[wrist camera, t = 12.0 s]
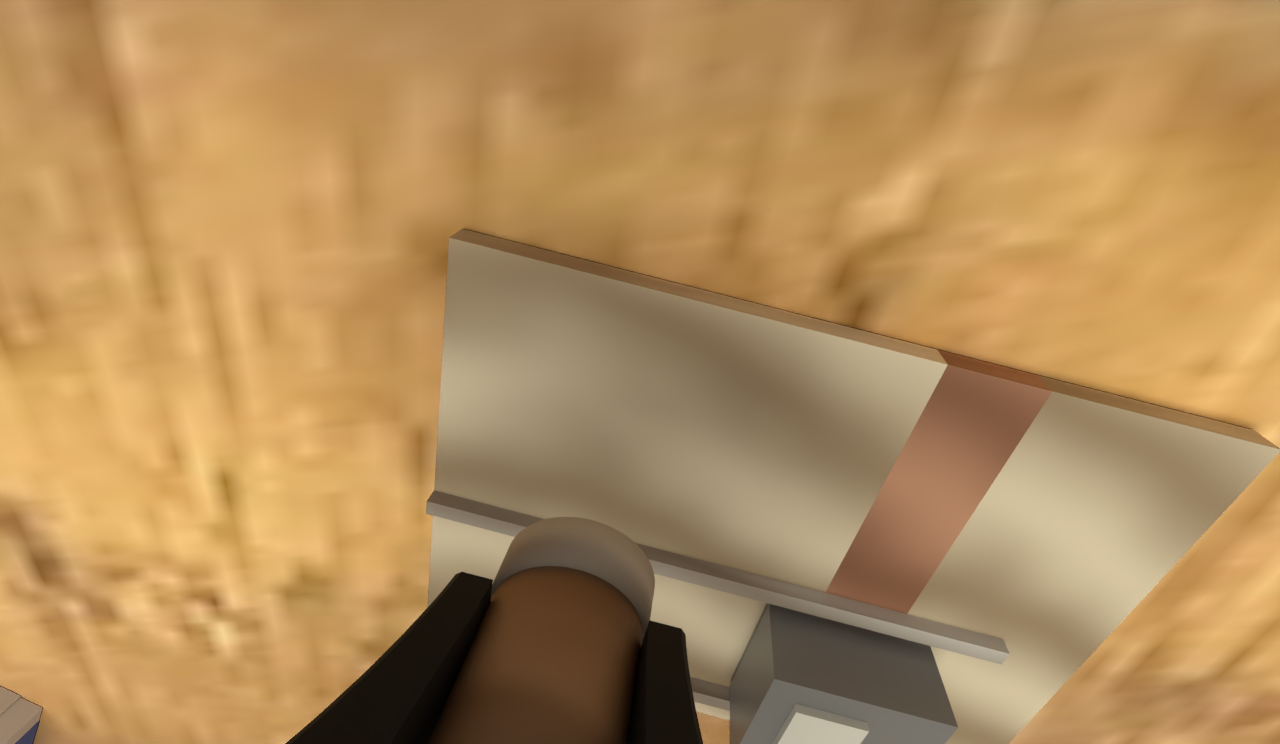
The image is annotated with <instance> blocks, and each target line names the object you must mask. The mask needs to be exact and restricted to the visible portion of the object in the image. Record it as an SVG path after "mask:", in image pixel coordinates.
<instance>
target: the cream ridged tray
mask: <svg viewBox="0 0 1280 744" xmlns="http://www.w3.org/2000/svg"><path fill="white" fill-rule="evenodd" d="M1279 452H1280V448H1278V447H1277V446H1276V445H1274V444H1273V443H1271V442H1270V441H1268V440H1267V439H1266V438H1264V437H1263V436H1261V435H1260V434H1259V433H1257V432H1256V431H1254V430H1251V429H1247V428H1244V427H1240V426H1236V425H1232V424H1228V423H1224V422H1220V421H1216V420H1212V419H1208V418H1204V417H1200V416H1196V415H1192V414H1189V413H1185V412H1181V411H1177V410H1173V409H1169V408H1165V407H1161V406H1157V405H1153V404H1149V403H1145V402H1141V401H1137V400H1134V399H1130V398H1126V397H1122V396H1118V395H1114V394H1110V393H1106V392H1102V391H1098V390H1094V389H1090V388H1086V387H1082V386H1079V385H1075V384H1071V383H1067V382H1063V381H1059V380H1055V379H1051V378H1047V377H1043V376H1039V375H1035V374H1031V373H1027V372H1024V371H1020V370H1016V369H1012V368H1008V367H1004V366H1000V365H996V364H992V363H988V362H984V361H980V360H976V359H972V358H969V357H965V356H961V355H957V354H953V353H949V352H945V351H941V350H937V349H933V348H929V347H925V346H921V345H918V344H914V343H910V342H906V341H902V340H898V339H894V338H890V337H886V336H882V335H878V334H874V333H870V332H866V331H863V330H859V329H855V328H851V327H847V326H843V325H839V324H835V323H831V322H827V321H823V320H819V319H815V318H811V317H808V316H804V315H800V314H796V313H792V312H788V311H784V310H780V309H776V308H772V307H768V306H764V305H760V304H756V303H753V302H749V301H745V300H741V299H737V298H733V297H729V296H725V295H721V294H717V293H713V292H709V291H705V290H701V289H698V288H694V287H690V286H686V285H682V284H678V283H674V282H670V281H666V280H662V279H658V278H654V277H650V276H646V275H643V274H639V273H635V272H631V271H627V270H623V269H619V268H615V267H611V266H607V265H603V264H599V263H595V262H591V261H588V260H584V259H580V258H576V257H572V256H568V255H564V254H560V253H556V252H552V251H548V250H544V249H540V248H537V247H533V246H529V245H525V244H521V243H517V242H513V241H509V240H505V239H501V238H497V237H493V236H489V235H485V234H482V233H478V232H474V231H470V230H466V229H462V230H461V231H459V232H457V233H456V234H454V235H453V236H451V237H449V251H448V268H447V285H446V302H445V319H444V336H443V353H442V369H441V386H440V403H439V420H438V437H437V454H436V471H435V488H434V492H433V493H432V495H431V496H430V497H429V499H428V500H427V509H426V514H429V515H433V522H432V539H431V556H430V573H429V590H428V607H429V606H430V604H431V603H432V602H433V601H434V600H435V599H436V598H437V596H438V595H439V594H440V593H441V592H442V590H443V589H444V588H445V587H446V586H447V584H448V583H449V582H450V581H451V579H452V578H453V577H454V576H455V574H457V573H460V572H465V573H469V574H473V575H477V576H481V577H485V578H488V579H492V580H493V582H494V579H495V577H496V575H497V573H498V571H499V568H500V566H501V564H502V562H503V559H504V557H505V555H506V553H507V551H508V548H509V546H510V544H511V542H512V541H513V539H514V538H515V537H516V536H517V534H518V533H519V532H520V531H522V530H523V529H525V528H526V527H528V526H529V525H531V524H533V523H536V522H538V521H541V520H545V519H549V518H556V517H578V518H585V519H589V520H594V521H597V522H600V523H603V524H605V525H608V526H610V527H612V528H614V529H616V530H618V531H620V532H621V533H623V534H624V535H626V536H627V537H629V538H630V539H631V540H632V541H633V542H635V543H636V544H637V545H638V546H639V547H640V549H641V550H642V551H643V552H644V554H645V555H646V556H647V558H648V560H649V562H650V564H651V566H652V569H653V572H654V578H655V589H654V596H653V603H652V610H651V617H650V620H651V621H654V622H658V623H662V624H666V625H670V626H674V627H678V628H681V629H682V630H683V631H684V633H685V635H686V649H687V658H688V666H689V673H690V680H691V686H692V692H693V697H694V703H695V708H696V712H700V713H704V714H707V715H711V716H715V717H719V718H722V719H726V720H730V684H731V681H732V679H733V677H734V675H735V673H736V671H737V669H738V667H739V665H740V663H741V660H742V658H743V656H744V654H745V652H746V650H747V648H748V646H749V644H750V642H751V640H752V637H753V635H754V633H755V631H756V629H757V627H758V625H759V623H760V621H761V619H762V616H763V614H764V612H765V610H766V608H767V606H768V604H772V605H776V606H780V607H784V608H787V609H791V610H795V611H799V612H803V613H806V614H810V615H814V616H818V617H822V618H825V619H829V620H833V621H837V622H841V623H845V624H848V625H852V626H856V627H860V628H864V629H867V630H871V631H875V632H879V633H883V634H886V635H890V636H894V637H898V638H902V639H906V640H909V641H913V642H917V643H921V644H925V645H928V646H930V647H931V650H932V652H933V655H934V658H935V661H936V664H937V667H938V670H939V673H940V676H941V679H942V681H943V684H944V687H945V690H946V693H947V696H948V699H949V702H950V705H951V708H952V711H953V713H954V716H955V719H956V722H957V725H958V729H957V730H956V731H955V732H954V733H953V735H952V736H951V737H950V738H949V739H948V741H947V742H946V743H945V744H1009V743H1010V742H1011V740H1012V739H1013V738H1014V737H1015V736H1016V735H1017V734H1018V733H1019V732H1020V731H1021V730H1022V729H1023V728H1024V727H1025V725H1026V724H1027V723H1028V722H1029V721H1030V720H1031V719H1032V718H1033V717H1034V716H1035V715H1036V714H1037V713H1038V711H1039V710H1040V709H1041V708H1042V707H1043V706H1044V705H1045V704H1046V703H1047V702H1048V701H1049V700H1050V699H1051V697H1052V696H1053V695H1054V694H1055V693H1056V692H1057V691H1058V690H1059V689H1060V688H1061V687H1062V686H1063V685H1064V683H1065V682H1066V681H1067V680H1068V679H1069V678H1070V677H1071V676H1072V675H1073V674H1074V673H1075V672H1076V671H1077V669H1078V668H1079V667H1080V666H1081V665H1082V664H1083V663H1084V662H1085V661H1086V660H1087V659H1088V658H1089V657H1090V655H1091V654H1092V653H1093V652H1094V651H1095V650H1096V649H1097V648H1098V647H1099V646H1100V645H1101V644H1102V643H1103V642H1104V640H1105V639H1106V638H1107V637H1108V636H1109V635H1110V634H1111V633H1112V632H1113V631H1114V630H1115V629H1116V628H1117V626H1118V625H1119V624H1120V623H1121V622H1122V621H1123V620H1124V619H1125V618H1126V617H1127V616H1128V615H1129V614H1130V612H1131V611H1132V610H1133V609H1134V608H1135V607H1136V606H1137V605H1138V604H1139V603H1140V602H1141V601H1142V600H1143V598H1144V597H1145V596H1146V595H1147V594H1148V593H1149V592H1150V591H1151V590H1152V589H1153V588H1154V587H1155V586H1156V584H1157V583H1158V582H1159V581H1160V580H1161V579H1162V578H1163V577H1164V576H1165V575H1166V574H1167V573H1168V572H1169V570H1170V569H1171V568H1172V567H1173V566H1174V565H1175V564H1176V563H1177V562H1178V561H1179V560H1180V559H1181V558H1182V557H1183V555H1184V554H1185V553H1186V552H1187V551H1188V550H1189V549H1190V548H1191V547H1192V546H1193V545H1194V544H1195V543H1196V541H1197V540H1198V539H1199V538H1200V537H1201V536H1202V535H1203V534H1204V533H1205V532H1206V531H1207V530H1208V529H1209V527H1210V526H1211V525H1212V524H1213V523H1214V522H1215V521H1216V520H1217V519H1218V518H1219V517H1220V516H1221V515H1222V513H1223V512H1224V511H1225V510H1226V509H1227V508H1228V507H1229V506H1230V505H1231V504H1232V503H1233V502H1234V501H1235V499H1236V498H1237V497H1238V496H1239V495H1240V494H1241V493H1242V492H1243V491H1244V490H1245V489H1246V488H1247V487H1248V485H1249V484H1250V483H1251V482H1252V481H1253V480H1254V479H1255V478H1256V477H1257V476H1258V475H1259V474H1260V473H1261V472H1262V470H1263V469H1264V468H1265V467H1266V466H1267V465H1268V464H1269V463H1270V462H1271V461H1272V460H1273V459H1274V458H1275V456H1276V455H1277V454H1278V453H1279ZM492 584H493V583H492ZM428 607H427V608H428Z"/></svg>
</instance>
